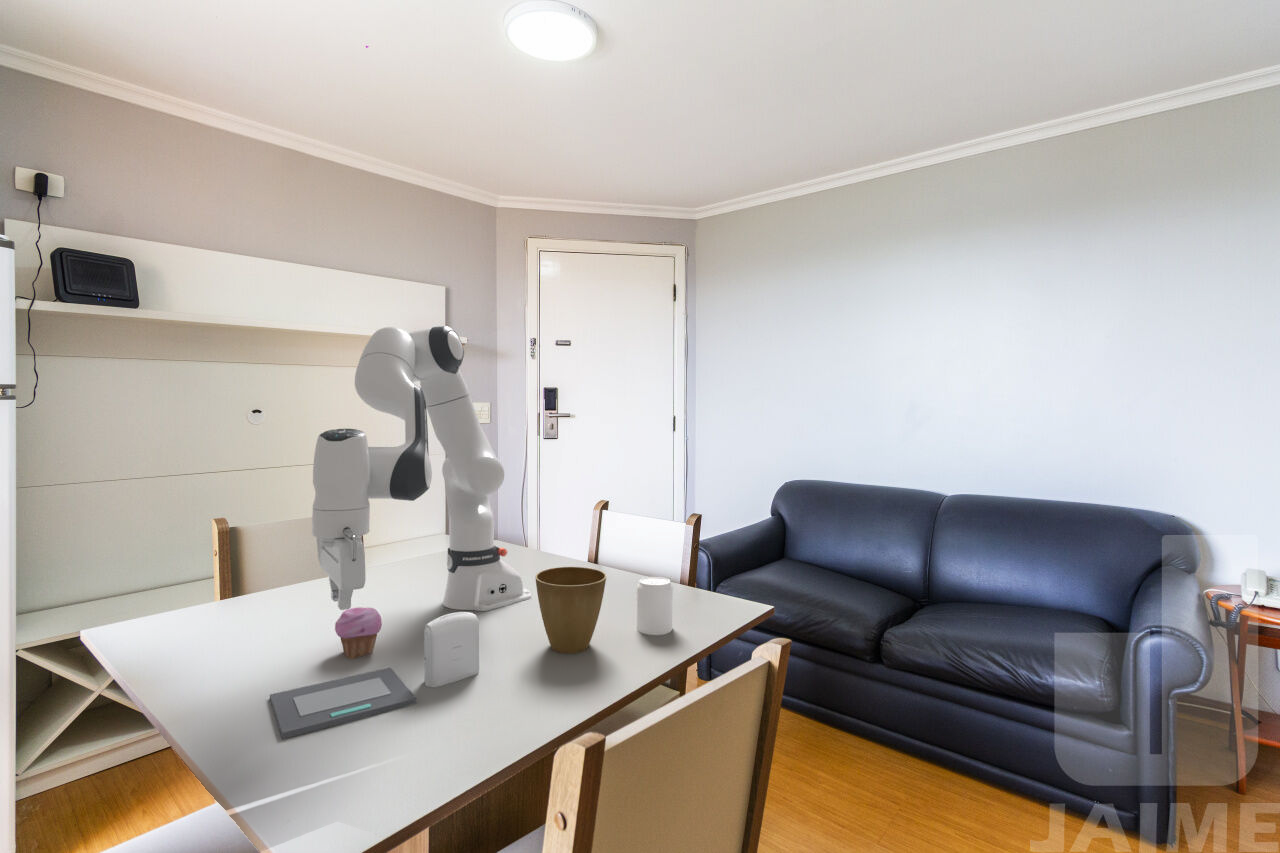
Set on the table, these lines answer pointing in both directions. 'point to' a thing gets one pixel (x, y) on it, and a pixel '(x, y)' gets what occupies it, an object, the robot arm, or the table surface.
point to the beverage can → (654, 606)
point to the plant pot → (570, 605)
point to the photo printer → (451, 648)
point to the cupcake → (358, 630)
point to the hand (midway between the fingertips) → (340, 604)
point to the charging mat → (339, 701)
